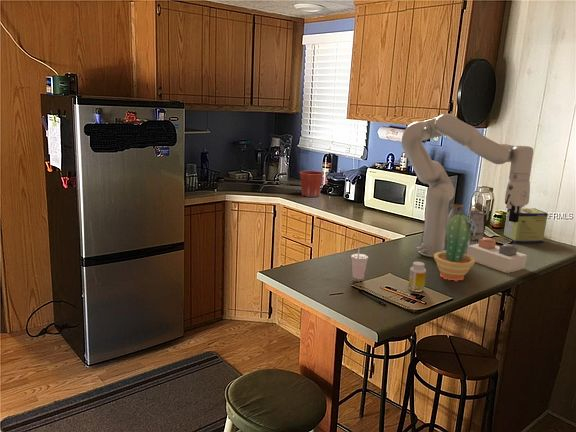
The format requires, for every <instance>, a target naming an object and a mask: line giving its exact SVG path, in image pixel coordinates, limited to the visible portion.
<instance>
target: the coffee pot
mask: <svg viewBox="0 0 576 432" xmlns="http://www.w3.org/2000/svg"><path fill="white" fill-rule="evenodd" d="M450 207H451V209H450V211H449V212H448V220H447V223H448V222H449V220H450V219H451V218H452V217H454V216H455V215H458V214H459V215H460V216H462V215H464V212H463V208H464V205H463V204H459V203H451V204H450Z"/></svg>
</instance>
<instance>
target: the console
mask: <svg viewBox="0 0 576 432" xmlns="http://www.w3.org/2000/svg"><path fill="white" fill-rule="evenodd" d="M500 246H501V245H497V244H496V245H495V248H493V249H489V250H488V249H485V248H482V247H479V244H474V245H469V246H468V245H467V251H466V255H469V256H471V257H473V258H474V260H475V263H477V264H481V265H483V266H485V267H489V268H491V269H494V270H497V271H500V272H503V273H506V274H510V272H511V273H514V272H517V271H522V270H524V269H526V265H527V259H528V255H527V254H525V253H522V252H518V251H517V253H516V255H513V256H507V255H504V254H500V253H499V248H500ZM521 269H522V270H521Z"/></svg>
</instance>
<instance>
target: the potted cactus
mask: <svg viewBox="0 0 576 432" xmlns="http://www.w3.org/2000/svg"><path fill="white" fill-rule="evenodd" d="M472 230H473V236H474V235H475V233H476V231H477V228H476V225H475V223H474V221H473V220H471V219H469V217H468V216H466V215H465V214H463V215H462V216H460V215H459V214H458V215H455V216H454V217H452V218H451V219H450V220H449V222H448V223H447V228H446V241H447V244H446V250H445V251H444V252H437V253H435V254H434V257H433V259H434V261H435V262H436V267H437V269H438V270H439V275H440V277H441V278H442V277H443V278H442V279H444V280H447V279H448V281H450V280H454V281H453V282H459V281H458V280H462V281H463V280H465V275H467V273H469V271H470V269H471V268H472V267H473V266H474V264H475V263H476V262H475V260H474V258H473V257H471V256H469V255H467V253H465V250H466V248H467V245H468V244H467V243H468V241H469V239H470V237H471V232H472Z"/></svg>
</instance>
